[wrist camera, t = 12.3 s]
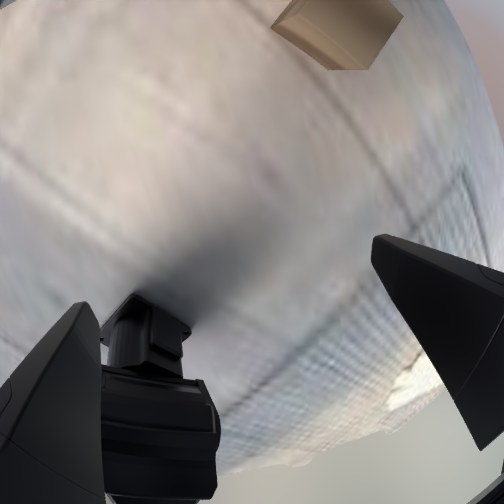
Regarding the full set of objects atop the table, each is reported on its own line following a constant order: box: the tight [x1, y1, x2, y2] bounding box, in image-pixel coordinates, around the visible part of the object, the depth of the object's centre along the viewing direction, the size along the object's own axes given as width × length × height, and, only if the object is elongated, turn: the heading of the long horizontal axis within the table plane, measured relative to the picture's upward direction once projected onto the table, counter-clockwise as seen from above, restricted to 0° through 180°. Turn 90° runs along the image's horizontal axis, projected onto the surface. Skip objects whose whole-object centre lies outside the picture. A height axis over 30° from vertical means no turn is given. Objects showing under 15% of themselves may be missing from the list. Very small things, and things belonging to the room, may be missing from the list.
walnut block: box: [270, 0, 404, 70], centre depth 14 cm, size 5×5×5 cm
